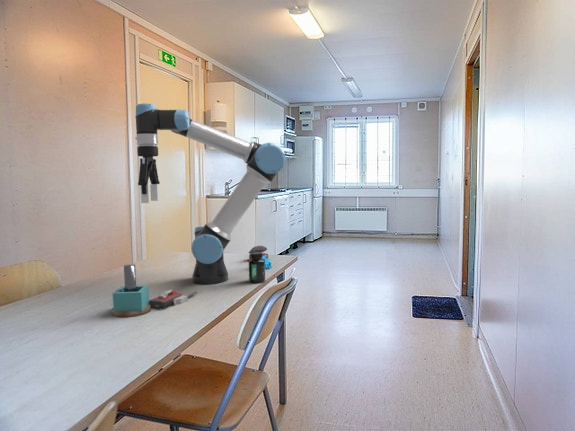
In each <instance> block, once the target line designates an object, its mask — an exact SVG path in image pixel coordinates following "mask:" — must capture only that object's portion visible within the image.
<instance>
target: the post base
mask: <svg viewBox="0 0 575 431" xmlns="http://www.w3.org/2000/svg"><path fill="white" fill-rule="evenodd" d="M151 309H152V308H151V305H150V304H149V303H148V304H147V306H146V307H145V308H144V309H143V310H142V311H118V312H114V309H113V308H112V310H111V311H112V316H114V317H116V318H117V317H118V318H134V317H139V316H143V315H145V314H147V313H150V311H151Z"/></svg>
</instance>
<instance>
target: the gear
mask: <svg viewBox="0 0 575 431" xmlns="http://www.w3.org/2000/svg"><path fill="white" fill-rule="evenodd" d="M262 255H263V254H262ZM266 257H267V256H266V255H264V256H263V257H262V259H264V261H265V269H269V270H270V269H271V268H272V267H273V265H272V262H271V261H270V260H271V258H270V257H268V259H267V258H266Z"/></svg>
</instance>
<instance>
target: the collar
mask: <svg viewBox="0 0 575 431" xmlns="http://www.w3.org/2000/svg"><path fill="white" fill-rule="evenodd" d="M136 289H137V292H125V285H122V286H120V287H119V288H117V289H116V290H115V291H114V292H112V303H113V304H112V309H114V312H118V311H142V310H143V309H144V308H145V307H146V306H147V304H148V303H149V301H150V292H149V285H136Z"/></svg>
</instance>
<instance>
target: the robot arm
mask: <svg viewBox="0 0 575 431" xmlns="http://www.w3.org/2000/svg"><path fill="white" fill-rule="evenodd" d="M134 118H135V127H136V137H135V140H136V144H137V145H138V146H137V147H136V148H137V156H138V157H141V158H139V172H138V173H139V174H138V175H139V176H138V183H137V186H140V200H141V201H140V203H141V204H150V201H151V202H154V201H155V202H157V201H159V187H158V186H159V185H160V184H161V183H160V180H159V174H158V167H157V159H156V158H155V159H154V157H158V156H159V147H158V144H159V142H158V141H159V140H158V137H159V136H158V131H171V132H172V133H174V134H177V135H180V136H183V137H186V138H189V139H191V140H194V141H196V142H198V143H200V144H204V145H206V146H208V147H211V148H212V149H213V148H214V149H215V150H218V151H220V152H223V153H226V154H228V155H230V156H234V157H236V158H238V159H241V160H242V161H243V162H244V164H246V172H245V174H244V175H243V177H242V178H241V180H240V181H239V182H238V184H237V185H236V187H235V188H234V190H233V191H232V193H231V194H230V195H229V196H228V198H227V199H226V201H225V203H224V204H223V206H221V207H220V208H221V209H219V211H218V213H216V216H214V218H213V220H212V221H209V222H206V223H205V224H204V226H196V227H195V229H194V233H193V234H194V240H193V241H192V244H191V253H192V255H193V257H194V258H195V265H194V267H193V268H194V269H193V272H192V275H191V277H192V278H191V279H192V283H195V284H201V285H212V284H220V283H223V282H227V281H228V280H229V272H228V269H227V267H226V263H225V261H224V260H225V259H224V258H225V257H224V251H225V249H226V248H227V246H228V244H229V243H230V242H231V241H232V238H231V234H232V232H233V231H234V229H235V228H236V227H237V225H238V223H239V222H240V220H241V219H242V218H243V216H244V215H245V213H247V211H248V209H249V208H250V206H251V205H252V204H253V202H254V200H256V198H257V196H258V195H259V193H260V192H261V191H262V190H263V187H264V186H265V185H266V184H271V183H272V182H273V180H274V178H276V176H277V174H278V173H279V172H280V171H282V170H283V168H284V166H285V165H286V153H285V151H284V149H283V148H282V147H281V146H280V145H278V144H276V143H274V142H266V143H262V144H261V143H257V142H255V141H251V142H250V141H246V140H244V139H241V138H240V137H239V138H238V137H237V136H234V135H231V134H229V133H227V132H224V131H221V130H218V129H216V128H214V127H212V126H208V125H206V124H204V123H202V122H199V121H197V120H194V119H192V118H190V113H189V111H188V110H186V109H159V108H157V105H155V104H154V103H138V104H137V105H136V106H135V116H134ZM149 180H150V181H149ZM149 182H150V184H149Z"/></svg>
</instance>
